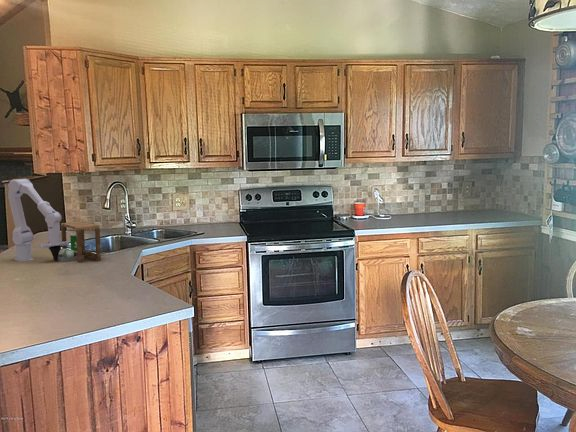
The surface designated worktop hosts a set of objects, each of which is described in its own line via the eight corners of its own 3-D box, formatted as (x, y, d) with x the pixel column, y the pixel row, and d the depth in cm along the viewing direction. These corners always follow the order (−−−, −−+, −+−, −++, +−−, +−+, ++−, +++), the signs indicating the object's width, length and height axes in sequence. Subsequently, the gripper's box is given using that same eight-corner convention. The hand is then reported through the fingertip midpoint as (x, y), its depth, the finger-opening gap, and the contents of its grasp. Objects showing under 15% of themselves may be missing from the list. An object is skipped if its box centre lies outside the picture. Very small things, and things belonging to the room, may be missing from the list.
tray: (53, 259, 278) (52, 255, 278) (75, 256, 287) (74, 252, 286) (61, 263, 270) (61, 258, 269) (84, 260, 278) (84, 255, 278)
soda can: (70, 253, 294) (69, 233, 293) (72, 251, 301) (71, 231, 300) (84, 253, 296) (83, 232, 295) (85, 250, 303) (84, 230, 302)
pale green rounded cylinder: (61, 258, 280) (61, 249, 279) (68, 257, 282) (67, 248, 282) (64, 259, 277) (63, 250, 277) (70, 258, 280) (70, 249, 279)
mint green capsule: (65, 259, 276) (65, 250, 275) (72, 258, 279) (71, 249, 278) (68, 260, 274) (67, 251, 273) (75, 259, 276) (74, 250, 275)
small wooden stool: (62, 257, 285) (60, 223, 282) (83, 254, 293) (82, 221, 291) (79, 263, 269) (77, 227, 267) (100, 260, 278) (99, 225, 275)
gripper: (42, 237, 264) (44, 263, 265) (71, 234, 274) (72, 259, 276) (37, 235, 269) (39, 261, 270) (65, 232, 279) (67, 257, 280)
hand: (55, 259), depth 273 cm, fingers closed
